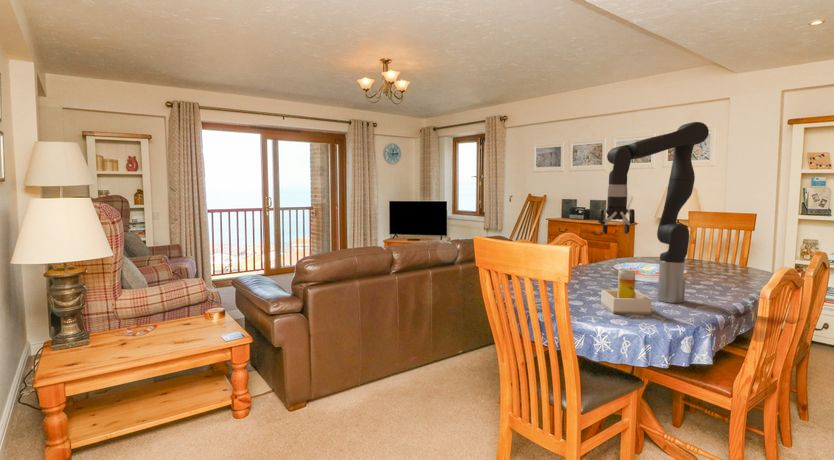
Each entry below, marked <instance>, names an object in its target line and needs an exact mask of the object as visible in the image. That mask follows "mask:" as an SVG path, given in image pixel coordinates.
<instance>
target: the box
mask: <svg viewBox="0 0 834 460" xmlns="http://www.w3.org/2000/svg"><path fill="white" fill-rule="evenodd" d="M617 291H618V289H601V292H600V293H601V295H600V297H601V299H600V300H601V301H600V305H602V306H603V307H605V309H607V310H608V311H609V312H610V313H611V314H613V315H644V314H647V315H648V316H649V315H650V316H651V314H652V313H651V312H652V311H651V310H652V299H651V298H650V297H648V296H646V295H644V294H643V293H641V292H640V291H638V290H637V289H634V299H633V298H617Z"/></svg>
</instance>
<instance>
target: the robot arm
mask: <svg viewBox="0 0 834 460" xmlns="http://www.w3.org/2000/svg"><path fill="white" fill-rule="evenodd" d="M709 132H710V130H709V127H708V126H707V125H706V124H705V123H704V122H701V121H693V122H690V123H685V124H682V125H681V126H679V127H678V128H677V130H676V131H672V132H669V133H666V134H665V133H664V134H660V135H656V136H652V137H647V138H644V139H641V140H638V141H635V142H633V143H628V144H624V145H621V146H616V147H614V148H613V147H612V148H611V149H610V150H609V151H608V153H607V155H606V158H607V159H606V160H607V161H608V162H609V164H612V170H610V172H609V175H608V186H607V187H608V188H607V203H606V204H607V206H606V209H602V208H600V209H599V211H598V220H597V223H598V224H601V225H602V233H603V234H604V235H608V230H609V229H608V224H609V223H610V222H611V221H613V220H614V221H615V220H621V221H622V222H623V223H624V228H623V229H624V230H623V234H625V235H628V234H629V233H630V227H631V225H632V224H635V222H636V220H635V217H636V216H635V215H636V214H635V209H633V208H628V195H629V194H628V172H629V170H630V165H631V162H632V160H637V159H643V158H645V157H649V156H652V155H654V154H655V155H656V154H659V153H661V152H665V151H667V150H671V149H673V148H674V149H673V150H674V151H673V157H672V158H673V159H672V164H671V169H670V175H669V180H668V184H667V185H668V186H667V192H666V197H665V201H664V205H663V210H662V213H661V217H660V220H659V223H658V227H657V230H656V232H657V233H656V237H657V239H658V241H659V242H660V243H661V244H666V245H669V246H668V249H667V251H664V252H661V253H660V254H659V267H658V282H657V283H658V284H657V285H658V286H657V298H656V299H657V300H658V301H661V302H664V303H669V304H680V303H685V292H686V283H687V282H686V279H684V277H685V274H684V273H685V261H686V257H687V256H688V252H689V243H690V231H689V228H688V226H686V225H685V224H681V223H677V220H678V217H679V213H680V211H681V209H682V208H683V206H684V205H686V203H687V202H688V200H689V199H690V198H691V196H692V194H693V191H694V186H695V185H694V184H695V179H696V177H695V176H696V175H695V170H694V166H693V163H692V155H693V150H694V147H695V145H699V144H702V143H703V142H705V141H706V139H708V137H709ZM627 208H628V209H627ZM606 214H607V216H606V217H605V215H606ZM627 214H628V217H627V216H626V215H627ZM604 217H605V218H604ZM628 218H629V219H628Z"/></svg>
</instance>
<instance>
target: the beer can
mask: <svg viewBox="0 0 834 460" xmlns="http://www.w3.org/2000/svg"><path fill="white" fill-rule="evenodd" d="M635 285H636V272H635V270H634V269H632V268H620V269H619V270H618V273H617V290H618V291H617V298H633V299H634V290H635Z"/></svg>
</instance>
